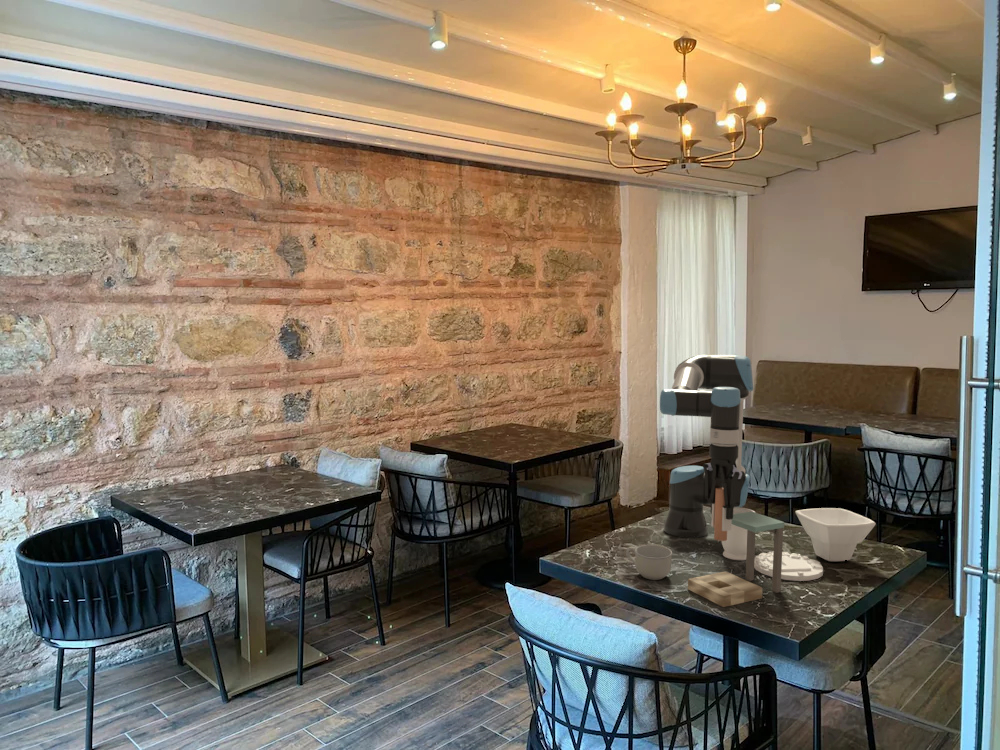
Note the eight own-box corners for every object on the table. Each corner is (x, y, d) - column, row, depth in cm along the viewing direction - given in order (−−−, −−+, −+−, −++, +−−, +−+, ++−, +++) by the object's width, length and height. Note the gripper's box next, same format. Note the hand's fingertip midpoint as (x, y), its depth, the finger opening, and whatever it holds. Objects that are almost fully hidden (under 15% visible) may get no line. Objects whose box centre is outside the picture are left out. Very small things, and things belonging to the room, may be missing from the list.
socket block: (687, 589, 208) (688, 578, 208) (725, 581, 214) (725, 571, 214) (723, 607, 196) (723, 596, 195) (762, 598, 202) (762, 587, 202)
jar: (719, 560, 233) (721, 513, 231) (719, 550, 243) (720, 505, 241) (755, 563, 230) (756, 516, 229) (753, 553, 240) (754, 507, 238)
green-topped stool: (721, 583, 212) (723, 516, 211) (749, 577, 217) (752, 511, 216) (752, 598, 202) (755, 527, 200) (781, 591, 207) (784, 522, 205)
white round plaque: (754, 579, 217) (755, 570, 217) (750, 557, 236) (751, 548, 236) (828, 586, 212) (828, 576, 212) (817, 563, 231) (818, 554, 231)
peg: (711, 538, 203) (713, 488, 202) (720, 536, 205) (722, 487, 204) (720, 541, 200) (721, 490, 199) (729, 539, 202) (731, 489, 201)
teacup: (678, 576, 218) (679, 550, 217) (657, 585, 211) (658, 558, 210) (639, 564, 228) (640, 539, 227) (618, 573, 221) (618, 547, 220)
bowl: (825, 571, 223) (827, 526, 222) (788, 551, 242) (790, 509, 241) (879, 567, 227) (881, 523, 226) (838, 547, 246) (840, 506, 245)
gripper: (692, 440, 206) (690, 522, 208) (735, 449, 191) (732, 538, 193) (713, 438, 209) (710, 519, 211) (757, 447, 195) (753, 534, 197)
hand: (721, 528), depth 202 cm, fingers closed on peg, 3 cm apart
